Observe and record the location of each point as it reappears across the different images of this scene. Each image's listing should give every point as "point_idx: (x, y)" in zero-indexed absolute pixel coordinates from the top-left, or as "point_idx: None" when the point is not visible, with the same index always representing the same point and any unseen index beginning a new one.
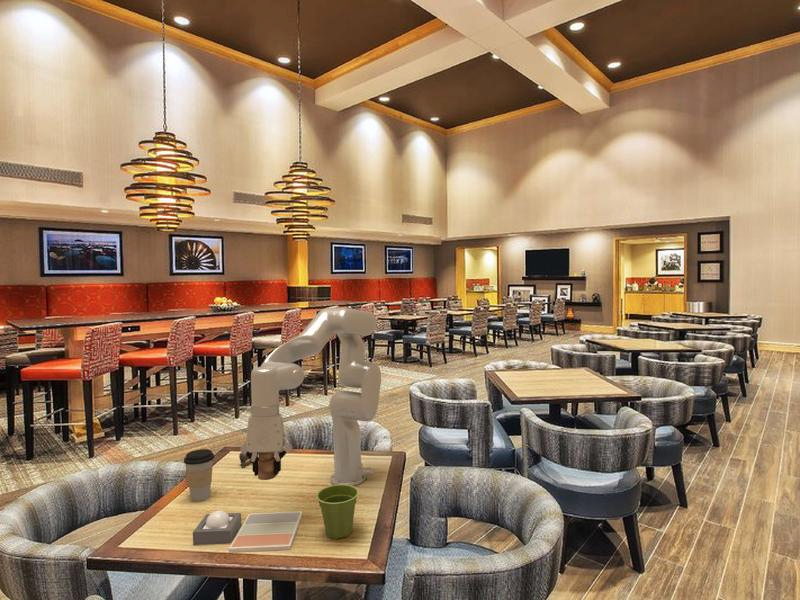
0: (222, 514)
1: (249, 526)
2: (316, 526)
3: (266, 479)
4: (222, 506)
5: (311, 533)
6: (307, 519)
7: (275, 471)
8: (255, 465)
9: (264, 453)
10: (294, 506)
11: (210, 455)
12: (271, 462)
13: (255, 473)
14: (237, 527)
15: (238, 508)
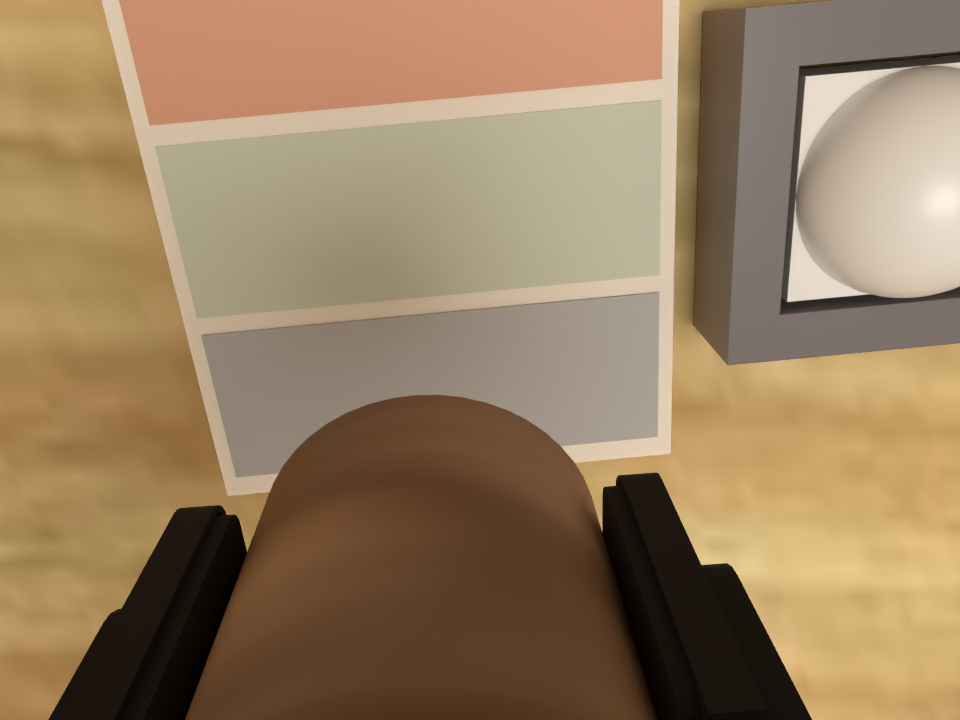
0: (907, 182)
1: (603, 243)
2: (30, 304)
3: (379, 405)
4: (914, 576)
5: (20, 188)
6: (161, 410)
7: (173, 555)
8: (693, 636)
9: None
10: None
11: None
12: None
13: (642, 497)
14: (706, 225)
15: (784, 553)
